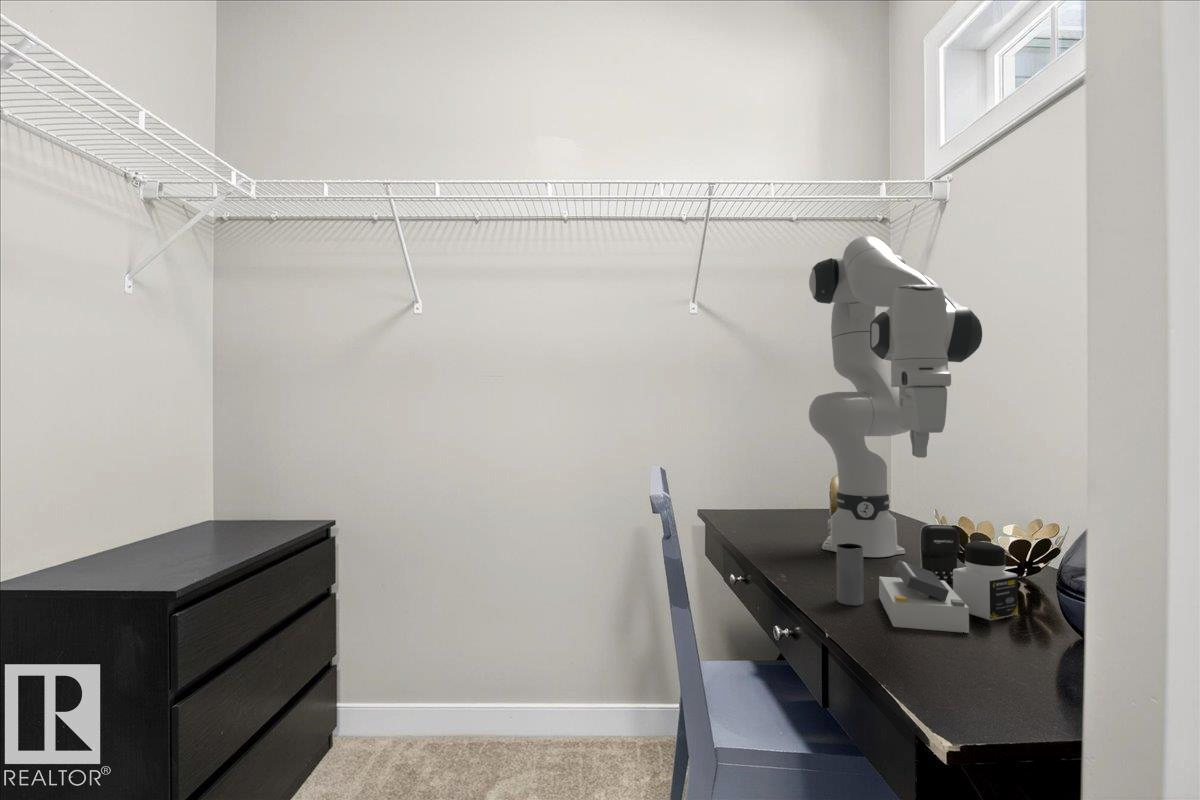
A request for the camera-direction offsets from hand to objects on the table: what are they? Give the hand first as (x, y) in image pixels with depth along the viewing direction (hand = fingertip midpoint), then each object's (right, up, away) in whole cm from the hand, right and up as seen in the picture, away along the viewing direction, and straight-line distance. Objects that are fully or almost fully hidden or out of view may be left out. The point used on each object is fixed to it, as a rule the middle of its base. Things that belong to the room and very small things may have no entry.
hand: (919, 456), depth 112 cm
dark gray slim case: (0, -21, 0) cm, 21 cm away
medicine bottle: (+12, -27, +1) cm, 30 cm away
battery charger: (+14, -27, +20) cm, 37 cm away
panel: (0, -27, 0) cm, 27 cm away
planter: (-9, -27, +7) cm, 30 cm away
